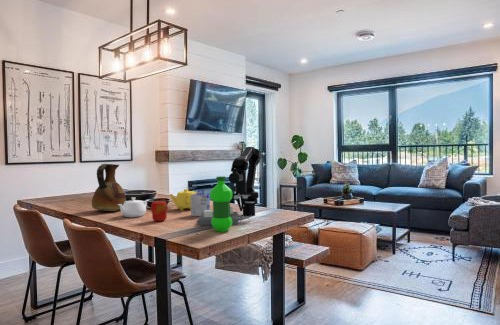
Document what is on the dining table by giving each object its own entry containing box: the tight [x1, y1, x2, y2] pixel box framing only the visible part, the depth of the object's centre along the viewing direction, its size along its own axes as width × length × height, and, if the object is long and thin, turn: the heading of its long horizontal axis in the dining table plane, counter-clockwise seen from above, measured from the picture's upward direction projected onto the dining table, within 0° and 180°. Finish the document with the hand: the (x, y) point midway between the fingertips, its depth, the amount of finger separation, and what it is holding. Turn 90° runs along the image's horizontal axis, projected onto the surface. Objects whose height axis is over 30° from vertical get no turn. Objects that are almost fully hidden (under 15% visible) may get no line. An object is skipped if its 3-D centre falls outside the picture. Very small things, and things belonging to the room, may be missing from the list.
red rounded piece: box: [150, 200, 169, 222], centre depth 188 cm, size 9×8×12 cm
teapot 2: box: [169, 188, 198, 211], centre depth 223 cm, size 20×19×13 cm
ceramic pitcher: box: [91, 163, 127, 212], centre depth 221 cm, size 20×20×30 cm
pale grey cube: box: [204, 209, 213, 217], centre depth 180 cm, size 4×4×4 cm
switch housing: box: [197, 211, 239, 226], centre depth 184 cm, size 20×16×4 cm
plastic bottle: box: [209, 175, 234, 232], centre depth 164 cm, size 10×10×25 cm
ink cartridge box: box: [190, 189, 211, 217], centre depth 202 cm, size 10×6×14 cm, turn 78°
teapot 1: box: [117, 196, 148, 218], centre depth 203 cm, size 22×14×11 cm, turn 153°
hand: (241, 211), depth 189 cm, fingers closed
